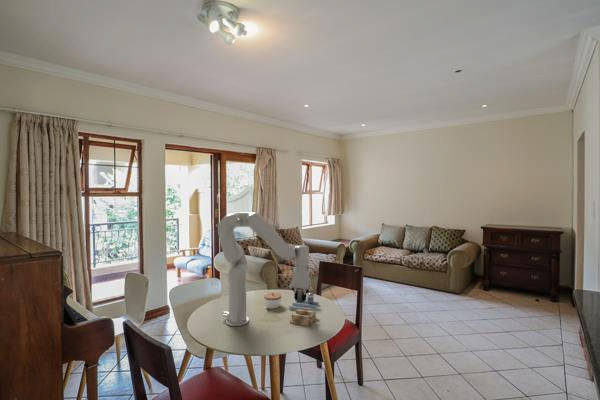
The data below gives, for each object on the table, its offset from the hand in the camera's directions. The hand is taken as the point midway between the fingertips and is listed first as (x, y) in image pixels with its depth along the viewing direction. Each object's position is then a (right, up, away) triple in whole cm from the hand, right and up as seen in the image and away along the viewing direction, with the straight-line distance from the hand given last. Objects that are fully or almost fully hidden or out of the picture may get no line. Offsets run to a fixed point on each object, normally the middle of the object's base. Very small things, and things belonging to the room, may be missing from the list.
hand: (300, 300), depth 165 cm
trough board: (+3, -11, +18) cm, 21 cm away
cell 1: (0, -1, 0) cm, 1 cm away
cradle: (+2, -12, 0) cm, 12 cm away
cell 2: (+6, -10, +19) cm, 23 cm away
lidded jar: (-17, -11, +19) cm, 28 cm away
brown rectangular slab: (+1, -10, 0) cm, 10 cm away
